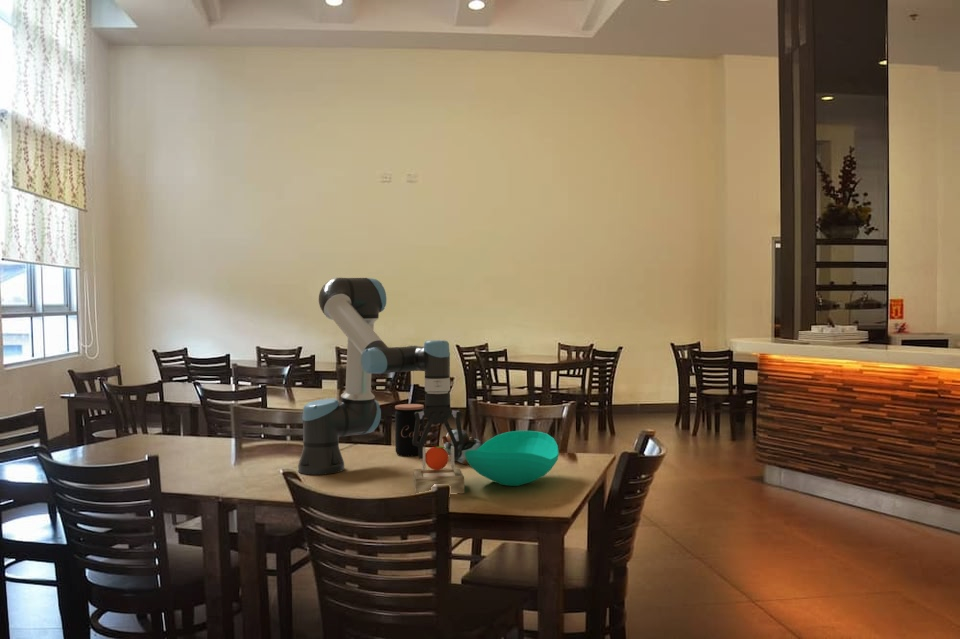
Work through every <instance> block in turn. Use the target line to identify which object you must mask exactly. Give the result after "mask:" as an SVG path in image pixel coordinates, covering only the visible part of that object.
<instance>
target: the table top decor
mask: <svg viewBox="0 0 960 639" xmlns="http://www.w3.org/2000/svg"><path fill="white" fill-rule="evenodd" d="M482 444H483V445H481V446H480V447H479V448H478V449H477V450H467V451H466V452H465V456H466V460H467V462H468V463H469V465H468V466H470V467H471V469H473V470H474V471H475V472H476V473H478V475H480V476H483V477H484V478H486V479H488V480H490V481H493V482H495V483H498V484H499V485H501V486H511V487H512V486H513V487H518V486H523V485H526V484H528V483H532V482H534V481H536V480H538V479H541V478H542V477H544V476H546V475H547V474H548V473H549V472H550V471H551V470H552V469H553V468H554V466H555V465H556V463H557V461H558V460H559V456H560V452H559V445H558V444H557V441H556V439H555V438H554V437H553V436H551V435H550V434H548V433H545V432H542V431H536V430H514V431H513V430H511V431H506V432H503V433H499V434H497V435H495V436H493V437H492V438H490V439H488V440H486V441H485V442H484V443H482Z"/></svg>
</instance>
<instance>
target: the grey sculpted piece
mask: <svg viewBox="0 0 960 639" xmlns="http://www.w3.org/2000/svg"><path fill="white" fill-rule="evenodd" d="M450 428H451V430H452V432H453V434H454V437H455V439H456V441H458V440H459V438H458V432H457V429H453V428H452V427H450ZM446 431H447V430H446ZM462 434H463V440H464V444H461V445H459V446H458V457H454V462H458V463H461V464H462V465H464V466H470V465H469V463H468V462H467V460H466V456H465V452H466V451H467V450H477V449H478V448H479V447H480V446H481V445H483V444H484V443H483V442H482V441H481V440H479V439H477V438H474V437H473V436H468V433H467V431H466V430H463V429H462ZM441 439H442V440H441V444H442V447H445V448H447V449H448V450H447V449H445V448H444V449H445V450H446V452H447V454H448V456H449V457H450V458H451V453H450V452H451V446H453V442H452V440H451V438H450V436H449V433H448V431H447V433H446V435H442V436H441Z"/></svg>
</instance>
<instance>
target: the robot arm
mask: <svg viewBox="0 0 960 639" xmlns="http://www.w3.org/2000/svg"><path fill="white" fill-rule="evenodd" d="M318 305H319V308H320V310H321V312H322V313H323V314H324V315H325V317H326V318H328V319H329V320H333V322H335V324H336V326H338V328H339V329H340V330H341V331H342V332H343V334H344V335H345V336H346V337H347V344H346V345H347V347H346V348H347V349H346V350H347V351H346V368H345V370H346V372H345V390H344V392H342V393H341V394H340V401H338V399H337V398H325V399H317V400H313V401H310V402H308V403H306V404H305V405H304V406H303V409H302V417H301V418H302V433H303V434H302V439H303V441H302V442H303V443H302V444H303V445H302V446H303V447H302V452H301V455H300V457H299V458H300V459H299V461H298V466H297V468H298V470H297V471H298V472H299V473H300V474H302V475H330V474H331V475H332V474H336V473H340V472H343V471H344V470H345V461H344V458H343V455H342V453H341V450H340V446H339V444H340V443H339V442H340V441H339V438H342V437H348V436H349V437H350V436H359V435H360V436H361V435H366V434H369V433H372V432H373V433H374V431H375V430H376V429H377V428H378V426H379V424H380V421H381V418H382V410H381V408H380V407H381V406H380V403H379V402H378V401H377V400H376V396H375V395H374V393H372V391H371V390H372V388H371V387H372V374H377V375H380V374H390V373H402V372H406V373H407V372H424V392H425V394H424V408H423V411H421V412H415V418H416V422H415V429H414V435H413V442H412V443H413V446H417V447H418V448H419V456H418V458H419V459H422V469H423V470H426V469H427V468H426V466H427V464H426V461H425V455H426V446H425V442H426V440H427V437H428V435H429V432H430V430H431V428H432V427H433V426H432V425H437V424H440V425H441V424H442V425H443V424H444V426H445V429H446V431H448V433H449V436H450V438H451V440H452V442H453V446H451V454H452V455H451V457H450V468H452V469H454V468H455V461H454V457H458V446H459V445H461V444H464V440H463V434H462V430H463V429H462V424H461V415H462V414H461V411H460V410H454V409H452V407H451V393H450V391H451V378H450V377H451V371H450V369H451V368H450V367H451V365H450V363H451V362H450V361H451V357H450V356H451V353H450V343H449V342H448V341H447V340H445V339H444V340H440V339H439V340H436V339H434V340H426V341H425V342H424V343H423V344H424V345H423V346H420V345H408V346H396V347H394V346H393V347H391V346H390V347H389V346H387V344H386V343H385V342H384V341H383V339H381V337H380V336H379V335H378V334H377V332H376V331H375V330H374V328H375V327H374V326H375V325H374V324H375V322H376V321H377V320H379V316H380V315H379V314H380V313H382V312H383V311H384V310H385V308H386V306H387V292H386V289H385V287H384V286H383V283H382V282H381V281H380V280H378V279H376V278H371V277H334V278H331V279H330V280H328V281H327V282H325V284H323V286H322V287H321V288H320V291H319V294H318ZM423 415H424V417H425V418H426V419H427V423H426V425H425V426H424V432H423V434H422V437H421V439H420V442H417V439H418V433H419V426H420V419H422V416H423ZM451 415H452V417H453V418H454V420H455V426H456V430H457V432H458V438H459V440H458V441H456V439H455V437H454V434H453V432H452V430H451V428H452V427H451V425H450V424H449V421H448V420H449V418H450V416H451ZM423 445H424V447H423Z"/></svg>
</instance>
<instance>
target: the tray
mask: <svg viewBox="0 0 960 639" xmlns="http://www.w3.org/2000/svg"><path fill="white" fill-rule="evenodd" d="M434 484H449V485H450V486H451V493H464V494H465V476H464V474H463V472H462V470H461V468H460V467H454V469H452V468H451V467H444V468H442V469H440V470H434V469H431V468H426V470H423V468H414V469H413V485H414V493H415V494H416V493H419V492H425V491H429V490H431V487H432V486H433V485H434Z"/></svg>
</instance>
